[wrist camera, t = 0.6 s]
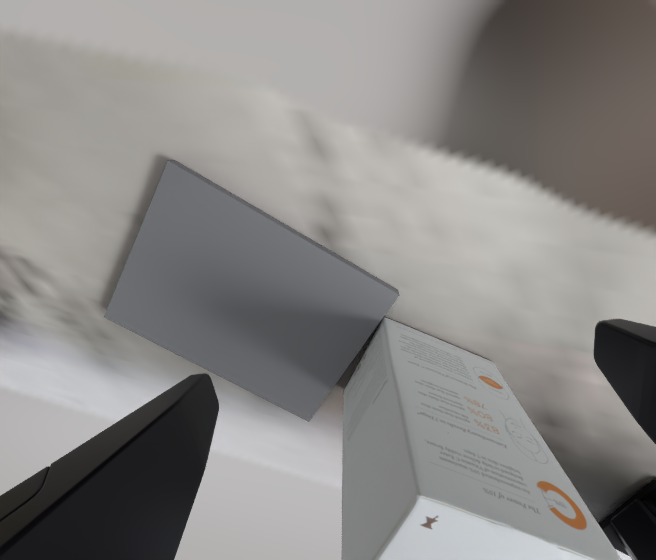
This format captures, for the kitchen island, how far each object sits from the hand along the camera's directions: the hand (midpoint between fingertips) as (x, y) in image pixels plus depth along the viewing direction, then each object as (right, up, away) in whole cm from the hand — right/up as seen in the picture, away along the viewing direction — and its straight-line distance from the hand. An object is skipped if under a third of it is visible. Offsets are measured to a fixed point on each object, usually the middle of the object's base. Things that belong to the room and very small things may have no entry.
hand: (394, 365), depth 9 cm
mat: (-6, +1, +15) cm, 16 cm away
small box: (+4, -4, +17) cm, 18 cm away
